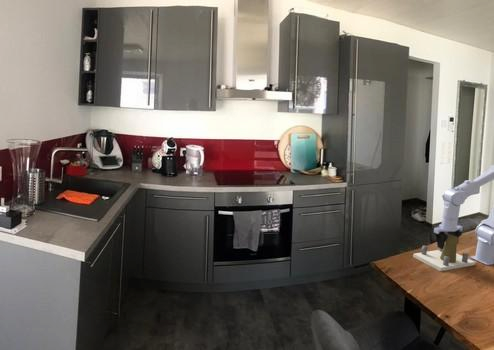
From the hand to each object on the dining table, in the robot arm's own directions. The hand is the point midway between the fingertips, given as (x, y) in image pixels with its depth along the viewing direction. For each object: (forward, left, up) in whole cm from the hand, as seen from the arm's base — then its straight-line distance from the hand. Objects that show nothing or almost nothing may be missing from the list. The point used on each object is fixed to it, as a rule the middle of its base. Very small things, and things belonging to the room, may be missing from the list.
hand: (445, 247), depth 144 cm
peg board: (0, 0, -6) cm, 6 cm away
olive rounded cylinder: (0, +2, -5) cm, 5 cm away
